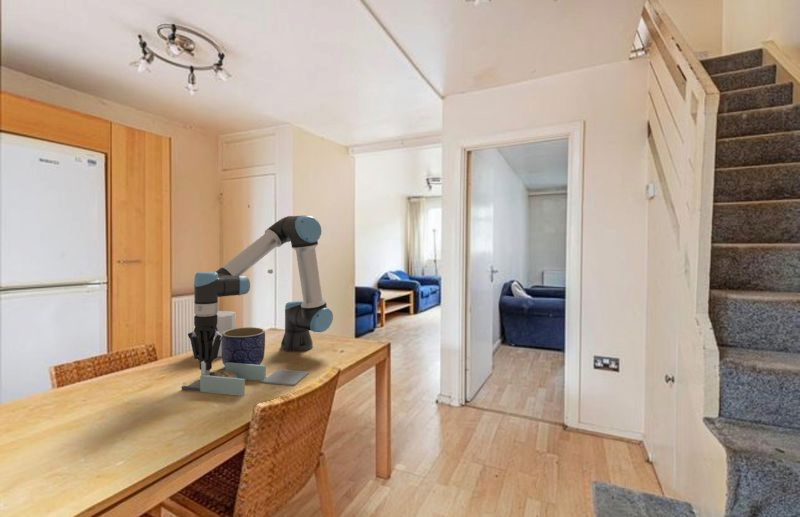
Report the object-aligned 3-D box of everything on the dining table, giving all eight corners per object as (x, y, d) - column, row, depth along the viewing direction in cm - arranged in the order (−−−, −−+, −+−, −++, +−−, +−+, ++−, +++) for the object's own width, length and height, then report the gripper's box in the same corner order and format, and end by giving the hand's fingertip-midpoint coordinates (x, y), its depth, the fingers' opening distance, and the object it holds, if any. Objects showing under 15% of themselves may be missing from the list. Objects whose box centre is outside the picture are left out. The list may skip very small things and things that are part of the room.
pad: (278, 370, 150) (278, 369, 150) (308, 373, 148) (308, 371, 148) (261, 382, 137) (261, 381, 137) (294, 385, 135) (294, 384, 135)
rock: (220, 391, 128) (221, 379, 128) (209, 381, 136) (210, 369, 136) (243, 386, 133) (243, 374, 133) (231, 377, 141) (232, 365, 141)
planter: (228, 377, 141) (228, 339, 141) (215, 366, 154) (216, 330, 153) (271, 368, 152) (271, 333, 151) (256, 358, 165) (256, 325, 164)
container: (201, 358, 162) (202, 318, 161) (200, 350, 174) (200, 312, 174) (237, 354, 169) (238, 315, 169) (234, 346, 182) (234, 310, 181)
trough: (210, 374, 144) (210, 360, 143) (265, 379, 140) (265, 365, 140) (181, 389, 129) (181, 374, 129) (243, 395, 125) (243, 379, 125)
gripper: (182, 315, 132) (182, 380, 133) (215, 317, 130) (215, 383, 131) (196, 311, 139) (196, 373, 140) (228, 313, 137) (228, 376, 138)
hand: (205, 378), depth 136 cm, fingers closed
